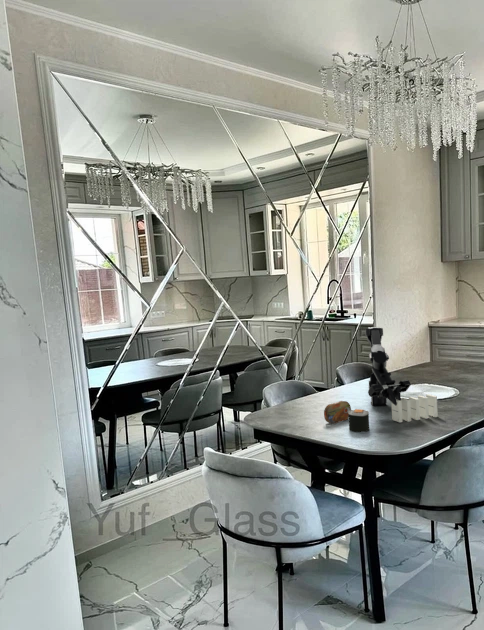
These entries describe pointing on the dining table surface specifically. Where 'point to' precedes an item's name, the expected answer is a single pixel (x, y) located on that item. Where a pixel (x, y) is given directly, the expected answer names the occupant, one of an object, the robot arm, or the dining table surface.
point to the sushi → (358, 420)
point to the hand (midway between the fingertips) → (398, 404)
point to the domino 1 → (397, 411)
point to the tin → (337, 412)
